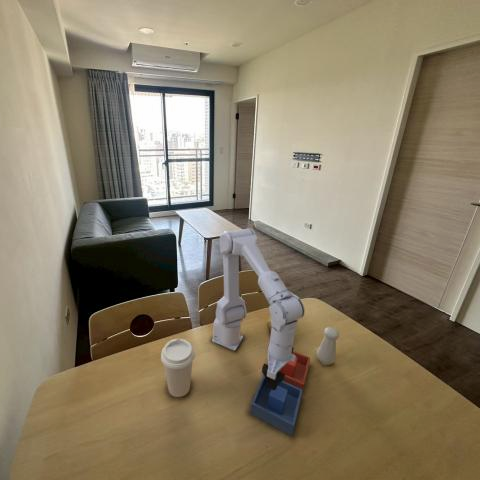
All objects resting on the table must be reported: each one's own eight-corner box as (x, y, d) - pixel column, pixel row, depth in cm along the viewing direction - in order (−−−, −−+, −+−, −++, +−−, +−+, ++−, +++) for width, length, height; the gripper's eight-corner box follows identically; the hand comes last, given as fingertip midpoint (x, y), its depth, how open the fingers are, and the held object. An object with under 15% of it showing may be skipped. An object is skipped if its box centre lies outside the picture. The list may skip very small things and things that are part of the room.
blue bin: (250, 413, 69) (251, 403, 67) (263, 381, 78) (264, 372, 76) (292, 436, 64) (294, 426, 62) (300, 399, 73) (302, 389, 71)
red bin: (265, 377, 79) (266, 368, 78) (274, 352, 88) (276, 344, 87) (301, 394, 74) (304, 384, 73) (308, 366, 83) (310, 357, 82)
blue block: (267, 407, 70) (269, 395, 68) (271, 395, 73) (273, 383, 71) (281, 414, 68) (284, 402, 66) (285, 402, 71) (287, 390, 69)
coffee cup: (199, 378, 78) (199, 341, 73) (187, 407, 70) (186, 367, 64) (172, 369, 81) (170, 333, 76) (157, 396, 73) (153, 357, 67)
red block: (279, 372, 80) (281, 361, 78) (283, 363, 83) (285, 352, 82) (292, 378, 78) (294, 366, 76) (295, 368, 82) (297, 357, 80)
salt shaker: (330, 354, 88) (338, 325, 83) (336, 368, 82) (345, 337, 78) (313, 353, 88) (320, 323, 83) (318, 366, 83) (326, 336, 78)
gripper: (291, 366, 57) (283, 406, 62) (303, 327, 68) (295, 364, 73) (261, 353, 60) (255, 392, 65) (277, 318, 71) (272, 354, 77)
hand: (275, 376), depth 69 cm, fingers open, 7 cm apart
